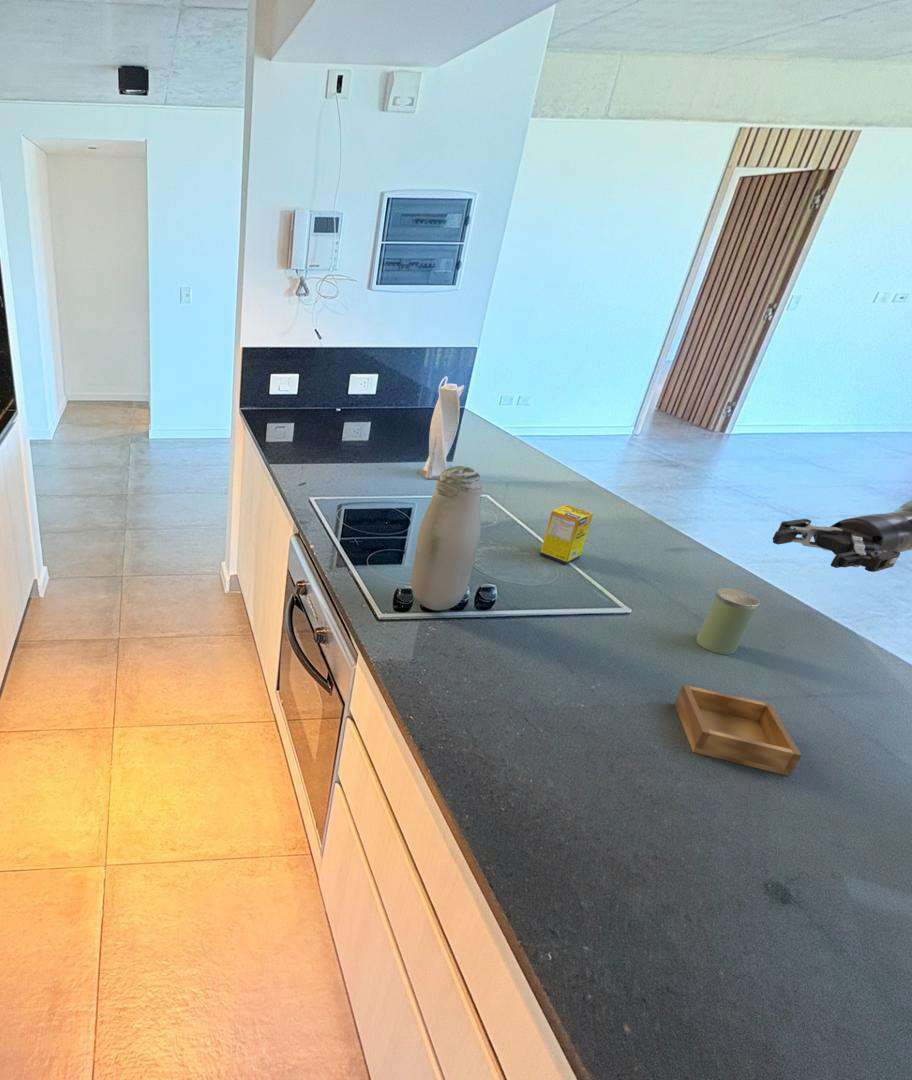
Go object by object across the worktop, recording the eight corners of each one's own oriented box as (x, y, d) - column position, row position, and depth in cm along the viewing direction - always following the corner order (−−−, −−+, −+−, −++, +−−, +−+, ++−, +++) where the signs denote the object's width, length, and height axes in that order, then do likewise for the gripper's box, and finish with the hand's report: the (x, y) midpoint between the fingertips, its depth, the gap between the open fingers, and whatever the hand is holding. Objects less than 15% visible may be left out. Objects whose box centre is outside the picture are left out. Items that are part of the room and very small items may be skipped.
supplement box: (579, 558, 135) (594, 513, 130) (565, 565, 132) (580, 519, 127) (552, 548, 140) (566, 503, 135) (538, 555, 137) (551, 510, 132)
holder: (760, 723, 90) (771, 703, 88) (789, 776, 81) (802, 755, 79) (673, 703, 94) (682, 684, 92) (692, 752, 85) (702, 731, 83)
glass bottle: (415, 586, 125) (440, 454, 112) (468, 602, 119) (501, 465, 107) (399, 607, 117) (424, 470, 105) (454, 625, 112) (488, 482, 100)
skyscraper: (414, 469, 186) (431, 376, 173) (440, 468, 186) (458, 375, 174) (427, 479, 178) (445, 382, 166) (453, 478, 179) (473, 381, 166)
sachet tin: (729, 640, 108) (753, 592, 104) (740, 658, 104) (765, 608, 99) (691, 633, 110) (713, 585, 106) (700, 650, 106) (723, 601, 101)
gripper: (912, 575, 102) (844, 590, 98) (813, 538, 114) (750, 550, 110) (937, 535, 98) (868, 548, 94) (832, 501, 111) (767, 512, 106)
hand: (804, 549), depth 102 cm, fingers open, 8 cm apart
